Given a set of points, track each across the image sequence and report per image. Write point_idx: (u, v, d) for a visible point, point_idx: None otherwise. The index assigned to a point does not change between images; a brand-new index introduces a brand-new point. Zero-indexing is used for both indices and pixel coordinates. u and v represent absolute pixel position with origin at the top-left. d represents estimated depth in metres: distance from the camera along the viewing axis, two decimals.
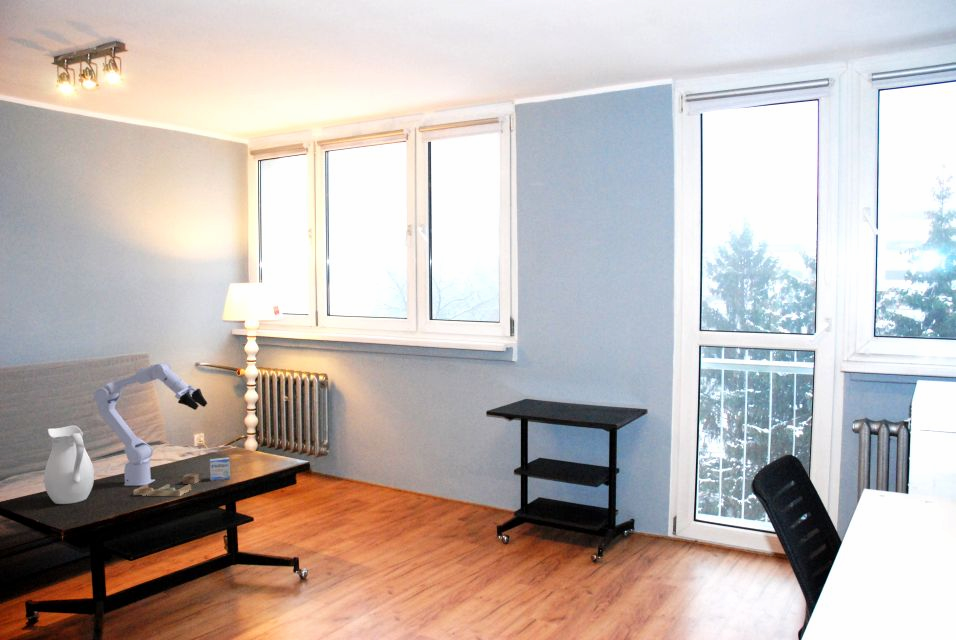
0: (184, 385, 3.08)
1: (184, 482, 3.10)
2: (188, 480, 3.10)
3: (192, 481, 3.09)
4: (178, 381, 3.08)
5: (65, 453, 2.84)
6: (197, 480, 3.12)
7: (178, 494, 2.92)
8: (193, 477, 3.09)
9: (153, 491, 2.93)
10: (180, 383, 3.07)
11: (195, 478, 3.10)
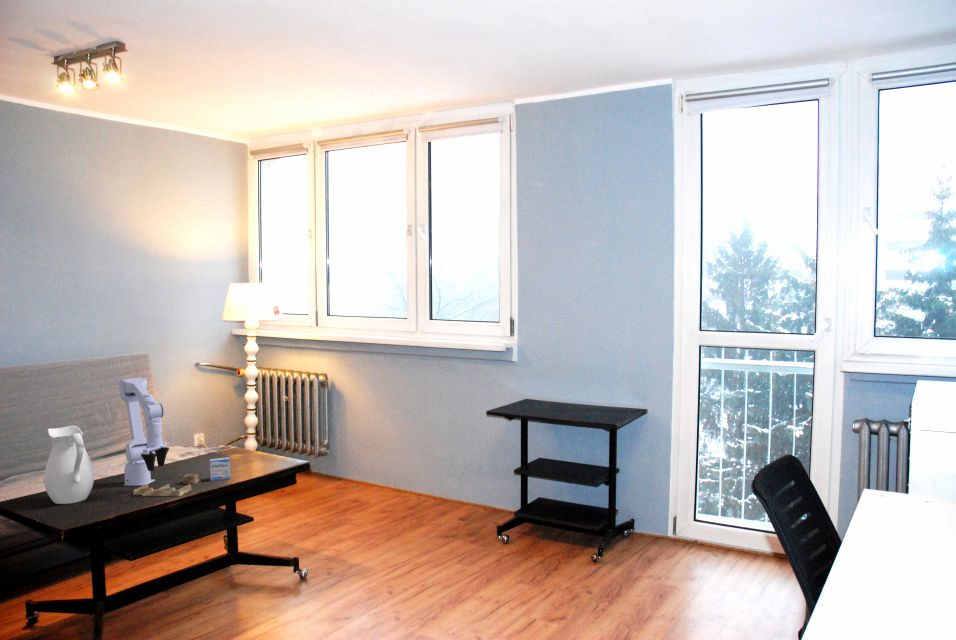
0: (159, 442, 2.97)
1: (184, 482, 3.10)
2: (188, 480, 3.10)
3: (192, 481, 3.09)
4: (157, 435, 2.96)
5: (65, 453, 2.84)
6: (197, 480, 3.12)
7: (178, 494, 2.92)
8: (193, 477, 3.09)
9: (153, 491, 2.93)
10: (157, 438, 2.96)
11: (195, 478, 3.10)
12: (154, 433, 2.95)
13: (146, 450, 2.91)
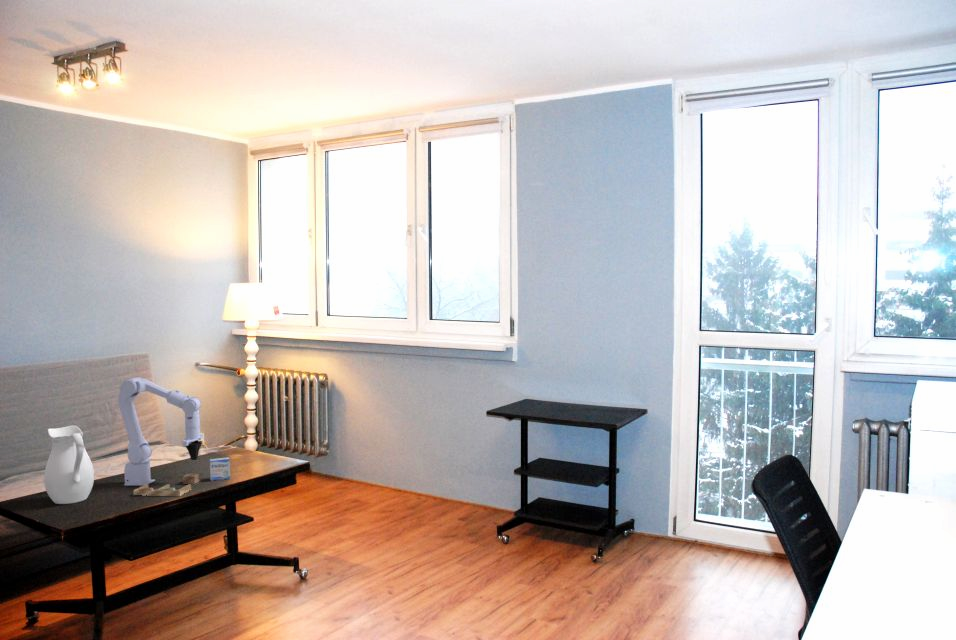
0: (197, 434, 3.11)
1: (184, 482, 3.10)
2: (188, 480, 3.10)
3: (192, 481, 3.09)
4: (196, 428, 3.10)
5: (65, 453, 2.84)
6: (197, 480, 3.12)
7: (178, 494, 2.92)
8: (193, 477, 3.09)
9: (153, 491, 2.93)
10: (195, 431, 3.10)
11: (195, 478, 3.10)
12: (198, 425, 3.11)
13: (185, 442, 3.05)
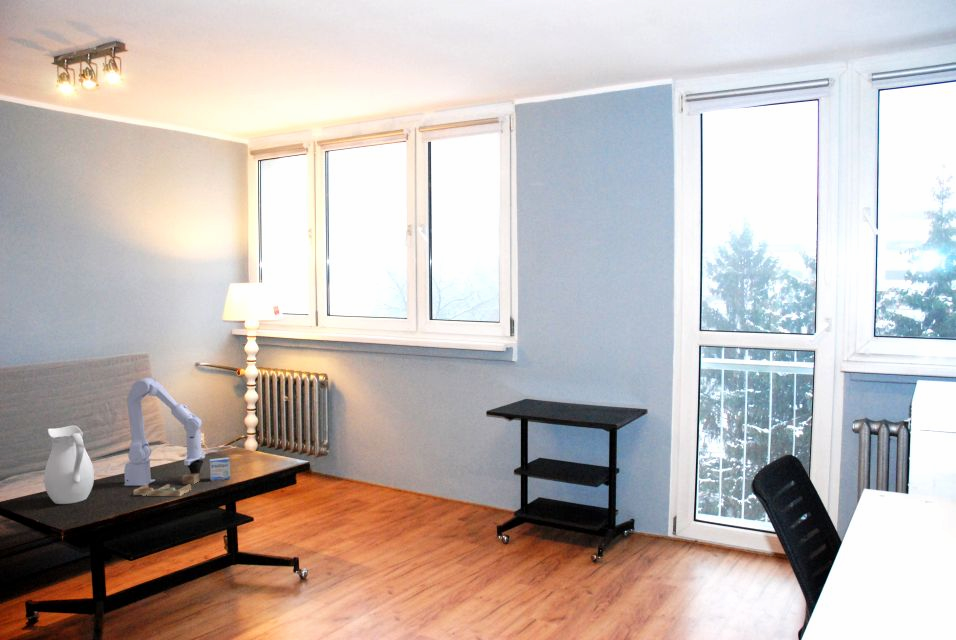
0: (198, 453, 3.13)
1: (183, 482, 3.09)
2: (187, 480, 3.09)
3: (191, 481, 3.09)
4: (197, 447, 3.13)
5: (65, 453, 2.84)
6: (196, 480, 3.11)
7: (178, 494, 2.92)
8: (192, 477, 3.09)
9: (153, 491, 2.93)
10: (197, 450, 3.13)
11: (194, 478, 3.09)
12: (200, 444, 3.14)
13: (187, 461, 3.08)
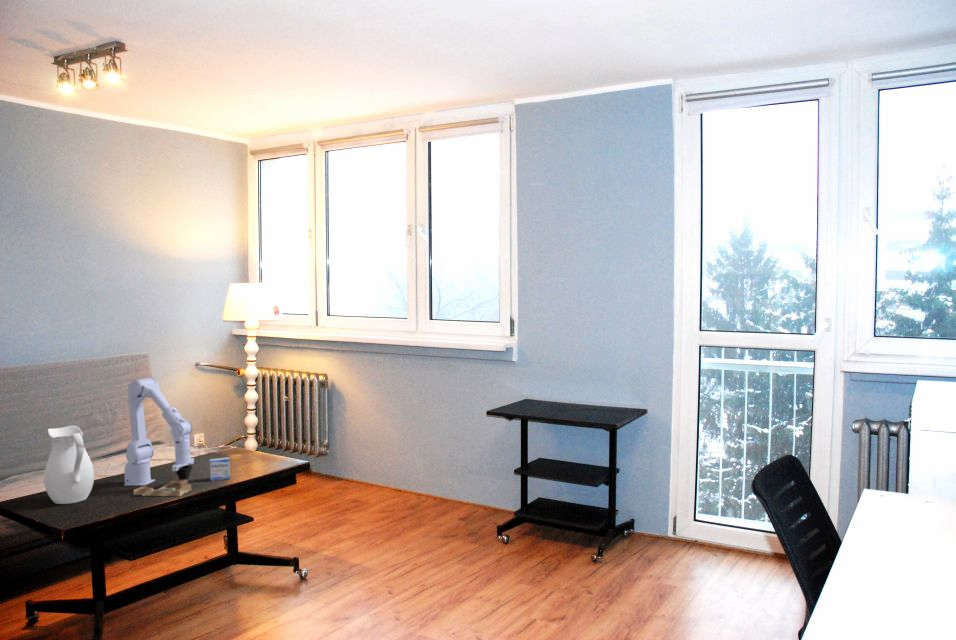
0: (187, 459, 3.04)
1: None
2: (174, 486, 2.99)
3: (178, 487, 2.99)
4: (186, 452, 3.03)
5: (65, 453, 2.84)
6: (184, 486, 3.01)
7: (178, 494, 2.92)
8: (179, 483, 2.99)
9: (153, 491, 2.93)
10: (185, 455, 3.03)
11: (181, 485, 2.99)
12: (186, 450, 3.03)
13: (175, 467, 2.98)
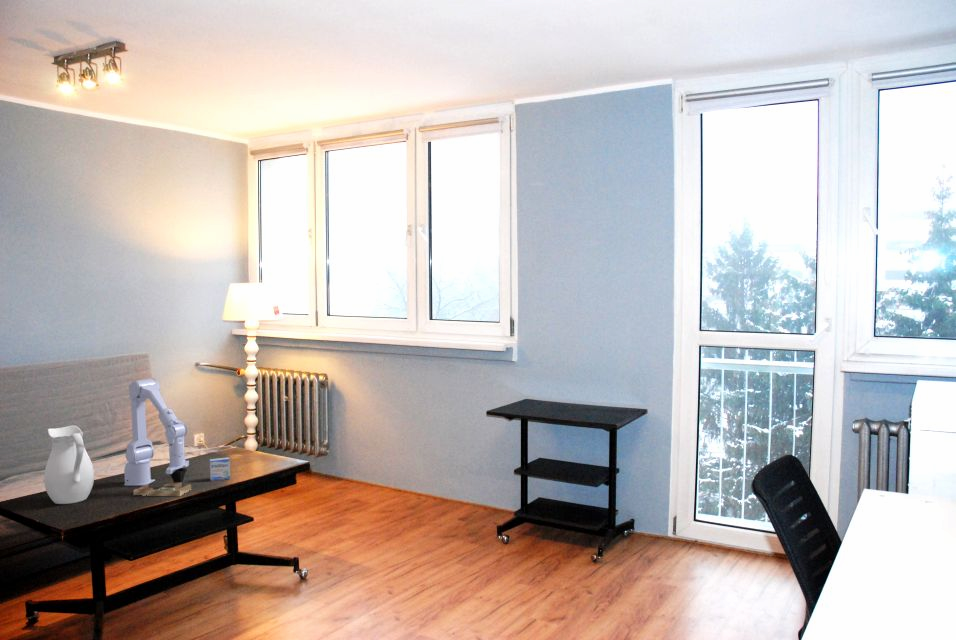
0: (181, 462, 2.99)
1: None
2: None
3: None
4: (180, 455, 2.99)
5: (65, 453, 2.84)
6: (178, 489, 2.97)
7: (178, 494, 2.92)
8: (173, 486, 2.94)
9: (153, 491, 2.93)
10: (180, 458, 2.99)
11: (175, 488, 2.95)
12: (179, 452, 2.98)
13: (169, 470, 2.94)
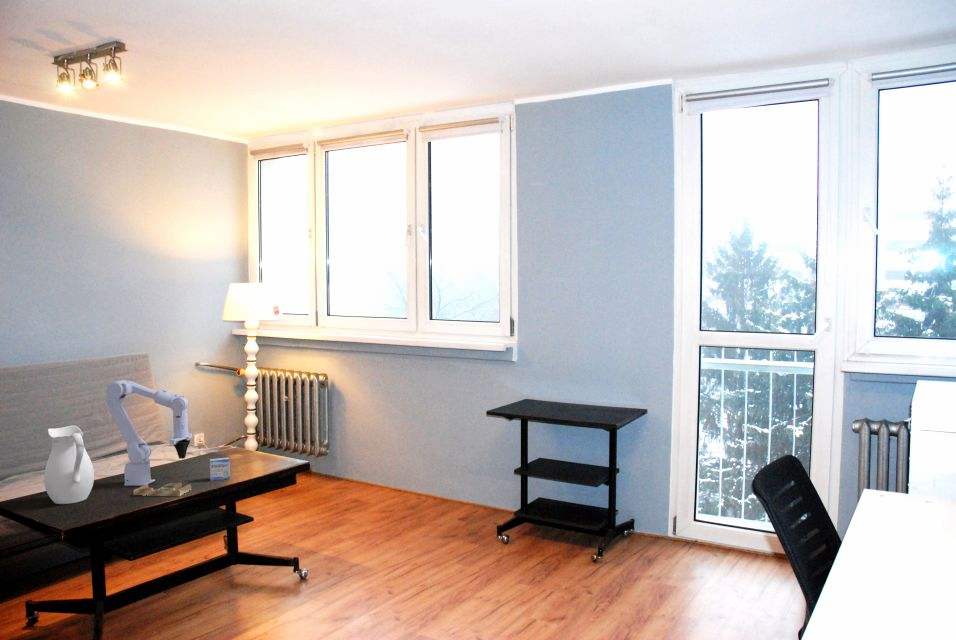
0: (185, 433, 3.12)
1: None
2: None
3: None
4: (184, 426, 3.12)
5: (65, 453, 2.84)
6: None
7: (178, 494, 2.92)
8: (173, 487, 2.94)
9: (153, 491, 2.93)
10: (183, 430, 3.11)
11: (175, 488, 2.95)
12: (186, 423, 3.13)
13: (173, 440, 3.06)
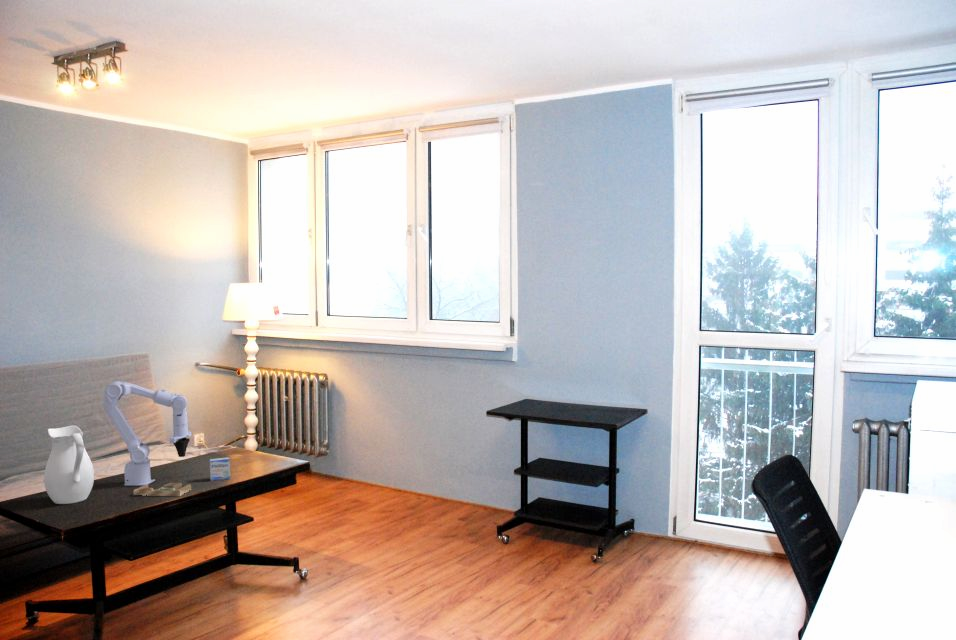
0: (185, 432, 3.15)
1: None
2: None
3: None
4: (183, 425, 3.15)
5: (65, 453, 2.84)
6: None
7: (178, 494, 2.92)
8: (173, 487, 2.94)
9: (153, 491, 2.93)
10: (183, 428, 3.15)
11: (175, 488, 2.95)
12: (186, 422, 3.17)
13: (173, 439, 3.10)
